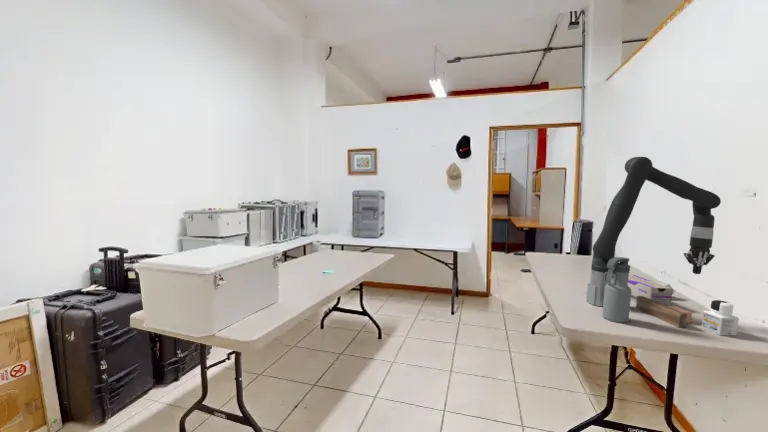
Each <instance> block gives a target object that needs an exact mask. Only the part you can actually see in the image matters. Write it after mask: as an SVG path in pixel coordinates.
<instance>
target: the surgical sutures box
mask: <svg viewBox="0 0 768 432" xmlns="http://www.w3.org/2000/svg"><path fill="white" fill-rule="evenodd" d="M659 283H660V282H655V281H652V280H650V279H647V278H645V277H643V276H639V275H635V274H629V277H628V287H630V289H631V302H632V301H633V302H635V303H636V302H637V296H644V297H647V298H649V299H651V300H654V301H656V302H659V303H661V304H663V305H666V306H672V305H671V304H672V297H673V294H672V289H673V290H674V288H673V287H672V288H670V287H667V286H664V285H661V284H659Z"/></svg>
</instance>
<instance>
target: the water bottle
mask: <svg viewBox="0 0 768 432" xmlns="http://www.w3.org/2000/svg"><path fill="white" fill-rule="evenodd" d="M629 262H630V258H629V257H622V256H621V257H619V256H618V257H617V256H615V257H614V258H612V259H610V260H609V261H608V263H607V268H609V269H608V272H605V275H604V282H605V283H608V284H607V285H606V286H605V294H604V303H603V307H602V314H601V315H602V317H603V318H604V319H606V320H607V321H610V322H614V323H618V322H619V323H618V324H625V323H627V322H629V319H630V308H631V302H632V300H631V289H630V287H628V277H629V275H630V271H631V270H630V268H631V266H630V265H629ZM607 273H609V274H611V277H610V283H609V282H607V280H606V277H607Z"/></svg>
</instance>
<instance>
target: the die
mask: <svg viewBox="0 0 768 432" xmlns="http://www.w3.org/2000/svg"><path fill="white" fill-rule="evenodd" d="M658 283H659V284H661V285H664V286H667V287H670V288H673V287H672V286H671V284H670V283H666V282H665V283H664V282H658ZM674 293H675V290H674V288H673V289H672V295H674Z"/></svg>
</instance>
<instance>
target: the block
mask: <svg viewBox="0 0 768 432" xmlns="http://www.w3.org/2000/svg"><path fill="white" fill-rule="evenodd" d="M668 307H671V308H673V309H675V310H678V311H680V312H683V313H685V314H687V319H686V324H691V323H692V314H693V312H692V311H690V310H687V309H684V308H682V307H679V306H677V305H671V306H668Z"/></svg>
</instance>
